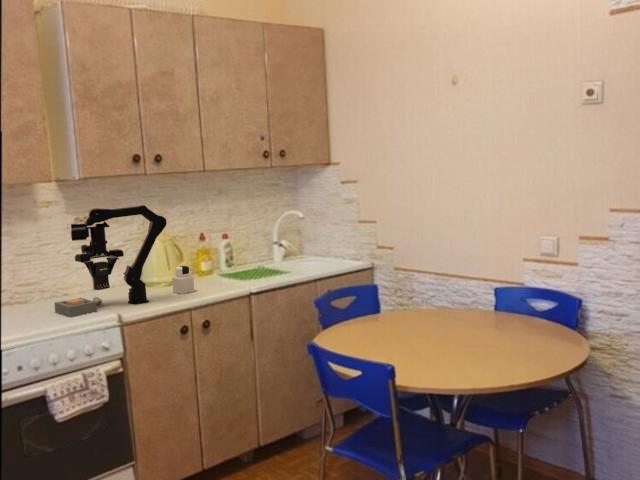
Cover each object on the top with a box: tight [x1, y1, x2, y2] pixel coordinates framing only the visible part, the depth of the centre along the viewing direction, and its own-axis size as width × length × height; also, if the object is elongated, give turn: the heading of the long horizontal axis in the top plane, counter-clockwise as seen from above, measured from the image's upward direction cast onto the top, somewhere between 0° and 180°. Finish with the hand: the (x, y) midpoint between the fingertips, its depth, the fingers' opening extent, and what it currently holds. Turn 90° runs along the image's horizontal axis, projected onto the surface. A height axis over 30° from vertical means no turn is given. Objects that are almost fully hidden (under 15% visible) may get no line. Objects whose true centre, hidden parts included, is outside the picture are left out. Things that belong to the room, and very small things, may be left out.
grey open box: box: [53, 297, 98, 318], centre depth 246 cm, size 11×14×4 cm
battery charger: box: [91, 260, 111, 291], centre depth 253 cm, size 7×4×11 cm, turn 142°
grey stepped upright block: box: [171, 265, 195, 295], centre depth 279 cm, size 7×7×12 cm
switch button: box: [65, 298, 85, 306], centre depth 246 cm, size 5×6×2 cm
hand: (101, 276), depth 253 cm, fingers closed on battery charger, 7 cm apart
